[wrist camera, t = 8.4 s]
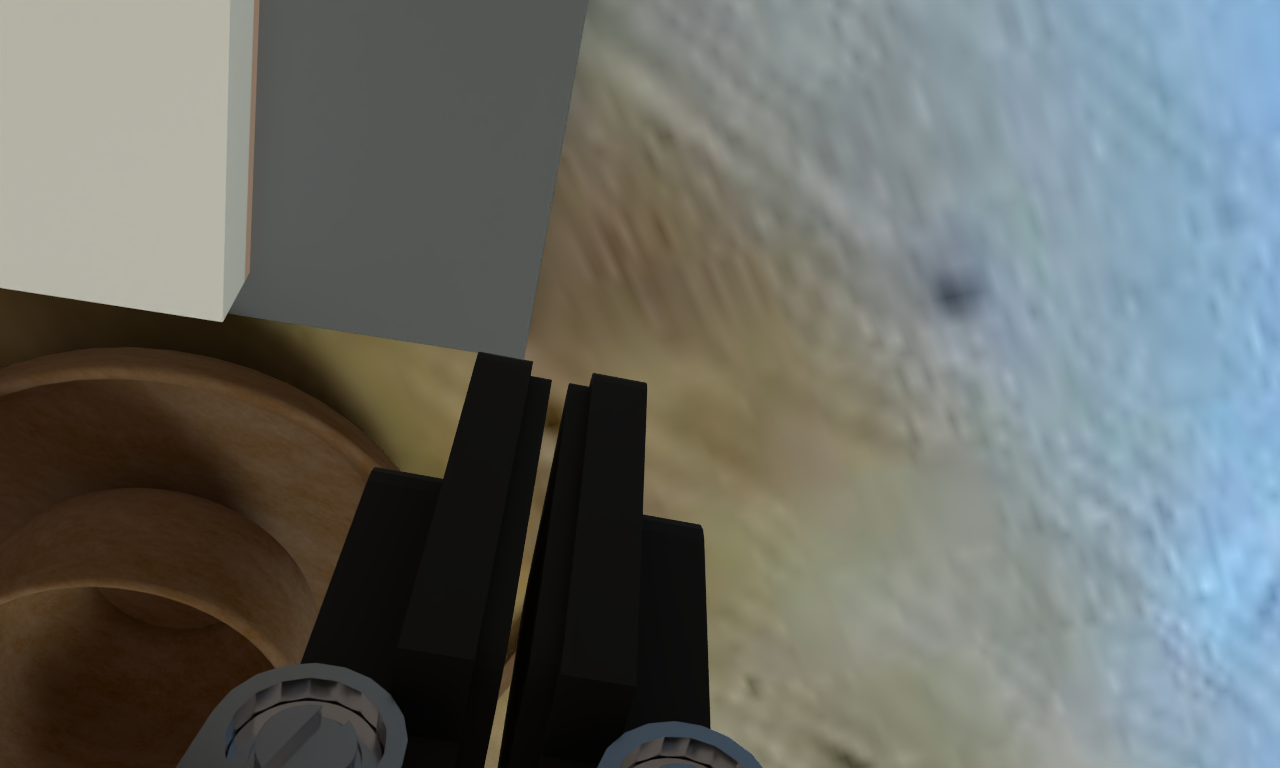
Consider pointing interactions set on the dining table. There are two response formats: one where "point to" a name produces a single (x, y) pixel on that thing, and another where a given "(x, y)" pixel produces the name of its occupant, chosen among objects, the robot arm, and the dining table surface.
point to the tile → (128, 151)
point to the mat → (408, 165)
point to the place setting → (158, 545)
